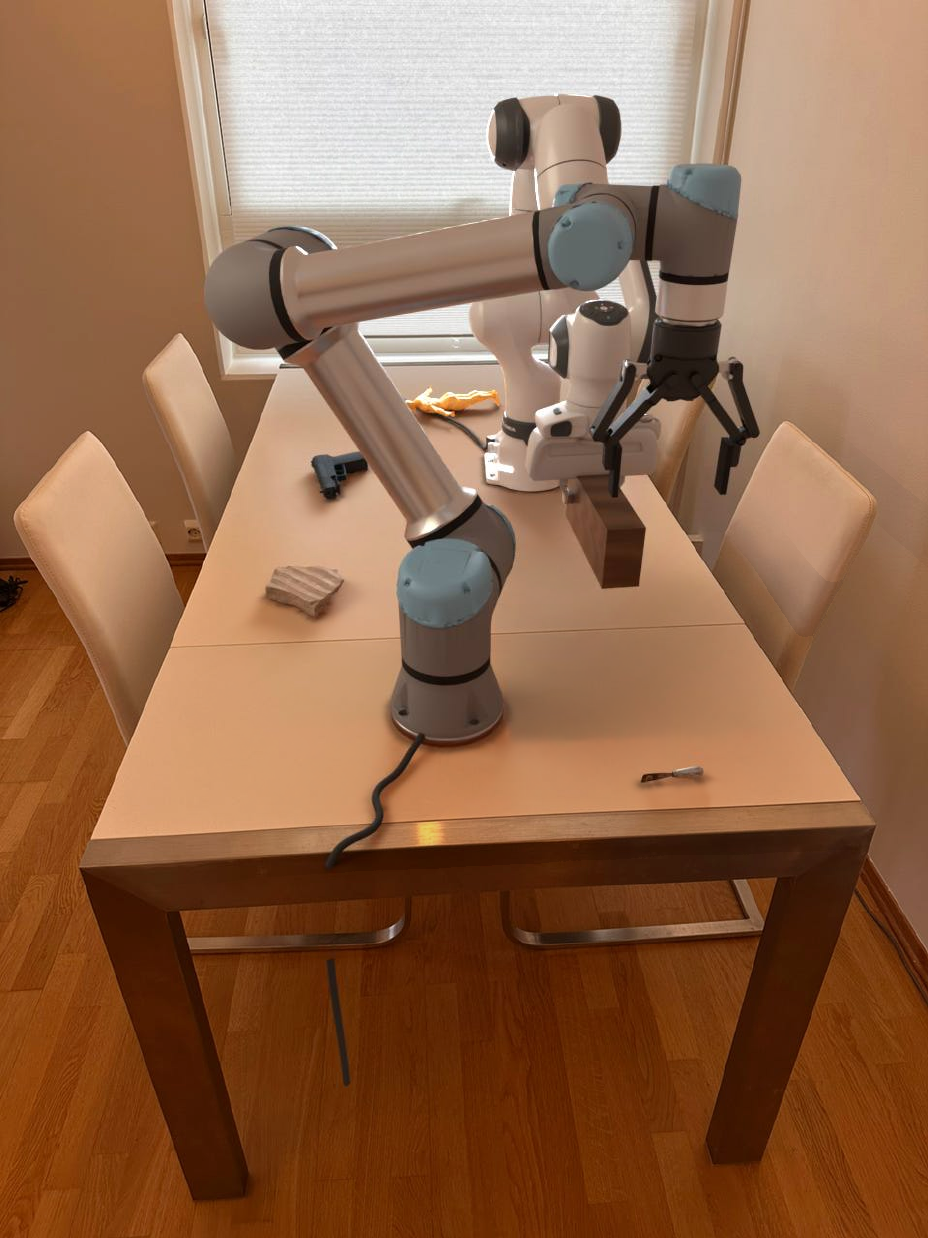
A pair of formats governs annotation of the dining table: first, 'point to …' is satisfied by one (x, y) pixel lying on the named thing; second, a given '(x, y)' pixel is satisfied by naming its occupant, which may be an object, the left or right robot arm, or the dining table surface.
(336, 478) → the handgun
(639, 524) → the bar
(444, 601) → the left robot arm
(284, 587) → the stone
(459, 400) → the human figure
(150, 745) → the dining table surface
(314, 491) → the dining table surface
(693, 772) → the putty knife
